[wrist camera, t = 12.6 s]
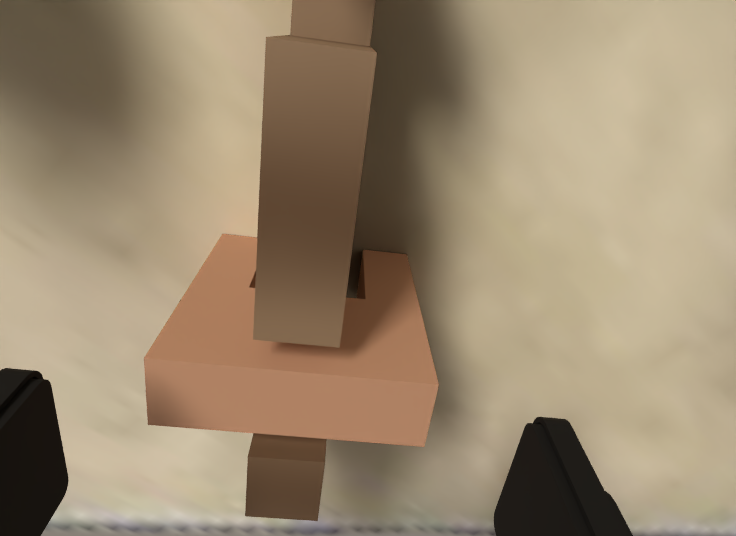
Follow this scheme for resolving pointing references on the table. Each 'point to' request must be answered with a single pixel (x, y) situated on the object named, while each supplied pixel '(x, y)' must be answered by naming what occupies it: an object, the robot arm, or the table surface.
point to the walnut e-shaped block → (307, 217)
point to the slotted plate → (294, 359)
